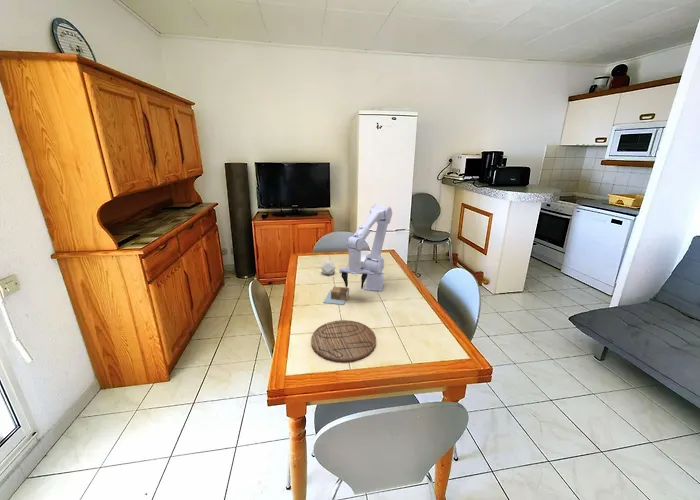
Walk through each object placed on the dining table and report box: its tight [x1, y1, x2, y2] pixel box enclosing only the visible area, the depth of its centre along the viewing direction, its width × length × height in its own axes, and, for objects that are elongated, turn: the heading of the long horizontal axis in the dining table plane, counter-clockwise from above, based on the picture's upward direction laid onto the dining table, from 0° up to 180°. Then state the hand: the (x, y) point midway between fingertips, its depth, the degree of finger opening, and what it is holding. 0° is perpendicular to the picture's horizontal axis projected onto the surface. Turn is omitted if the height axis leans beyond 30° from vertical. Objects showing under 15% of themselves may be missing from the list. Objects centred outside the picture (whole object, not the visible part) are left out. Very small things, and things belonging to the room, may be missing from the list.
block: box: [331, 286, 350, 301], centre depth 150 cm, size 4×6×8 cm
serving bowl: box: [361, 250, 383, 269], centre depth 192 cm, size 21×21×7 cm
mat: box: [323, 289, 347, 306], centre depth 151 cm, size 10×14×1 cm
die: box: [320, 260, 336, 276], centre depth 179 cm, size 8×9×10 cm
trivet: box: [310, 319, 377, 363], centre depth 117 cm, size 25×25×2 cm
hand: (354, 287), depth 148 cm, fingers open, 7 cm apart
